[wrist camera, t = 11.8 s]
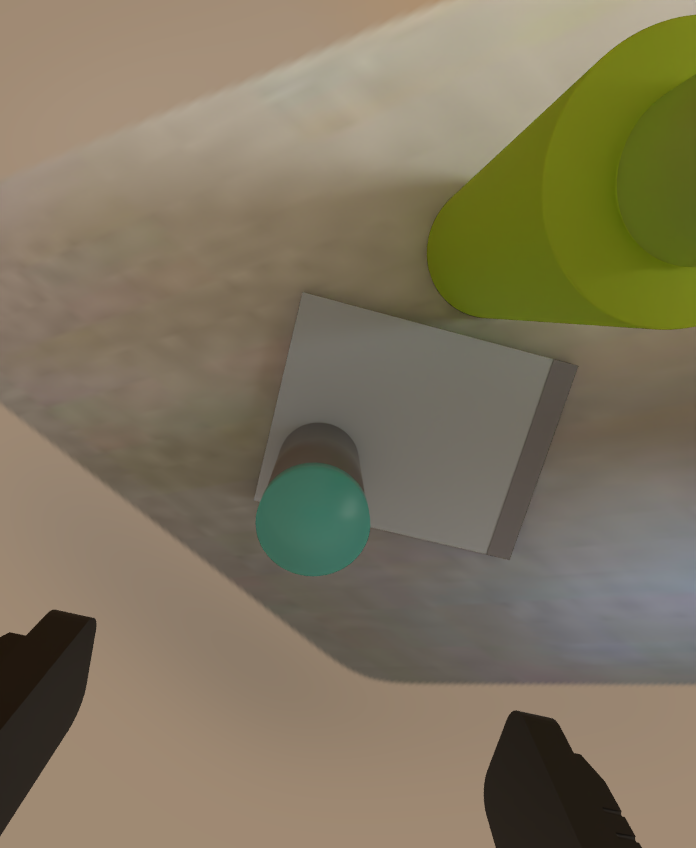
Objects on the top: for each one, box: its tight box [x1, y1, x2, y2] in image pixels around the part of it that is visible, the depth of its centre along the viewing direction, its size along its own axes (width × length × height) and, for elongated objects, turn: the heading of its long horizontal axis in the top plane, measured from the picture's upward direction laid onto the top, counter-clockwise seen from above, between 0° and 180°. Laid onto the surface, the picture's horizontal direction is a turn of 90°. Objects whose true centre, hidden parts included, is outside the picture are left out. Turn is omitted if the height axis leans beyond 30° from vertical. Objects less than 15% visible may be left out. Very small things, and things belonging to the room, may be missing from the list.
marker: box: [256, 423, 370, 576], centre depth 21 cm, size 4×4×7 cm
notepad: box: [254, 292, 578, 560], centre depth 24 cm, size 13×10×1 cm
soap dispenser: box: [427, 15, 696, 330], centre depth 13 cm, size 6×7×20 cm
